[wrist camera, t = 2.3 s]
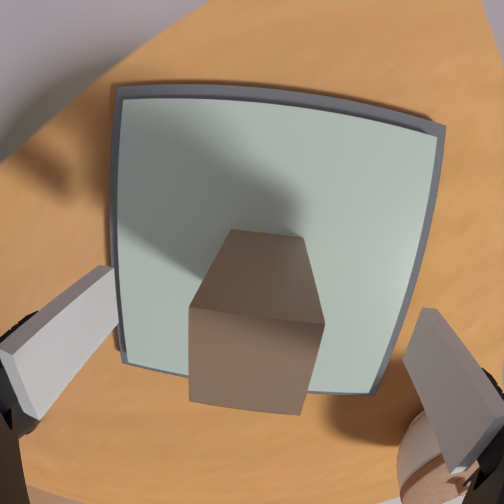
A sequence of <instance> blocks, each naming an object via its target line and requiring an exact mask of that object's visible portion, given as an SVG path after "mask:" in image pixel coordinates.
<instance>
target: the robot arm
mask: <svg viewBox="0 0 504 504" xmlns="http://www.w3.org/2000/svg"><path fill="white" fill-rule="evenodd" d="M118 323H119V320H118V311H117V301H116V289H115V276H114V268H113V267H107V266H102V265H99V266H97V267H96V268H94V269H93V270H92V271H90V272H89V273H88V274H86V275H85V276H84V277H82V278H81V279H80V280H78V281H77V282H76V283H74V284H73V285H72V286H70V287H69V288H68V289H66V290H65V291H64V292H63V293H61V294H60V295H59V296H57V297H56V298H55V299H54V300H52V301H51V302H50V303H48V304H47V305H46V306H45V307H43V308H42V309H41V310H40V311H36V312H34V313H31V314H29V315H27V316H25V317H24V318H23V319H22V320H20V321H19V322H18V324H16V325H14V326H13V327H12V328H11V330H8V331H7V332H6V333H5V334H3V335H2V336H1V337H0V504H30V502H29V498H28V493H27V489H26V484H25V479H24V473H23V468H22V462H21V455H20V448H19V440H18V439H19V438H21V437H22V436H24V435H26V434H29V433H31V432H33V431H34V430H35V428H36V427H37V426H38V424H39V423H40V421H41V420H42V418H43V416H44V415H45V413H46V412H47V411H48V410H49V408H50V407H51V406H52V404H53V403H54V402H55V400H56V399H57V398H58V397H59V395H60V394H61V393H62V391H63V390H64V389H65V388H66V386H67V385H68V384H69V383H70V381H71V380H72V379H73V378H74V376H75V375H76V374H77V373H78V371H79V370H80V369H81V368H82V366H83V365H84V364H85V363H86V361H87V360H88V359H89V358H90V357H91V355H92V354H93V353H94V352H95V350H96V349H97V348H98V347H99V346H100V344H101V343H102V342H103V341H104V340H105V338H106V337H107V336H108V335H109V334H110V332H111V331H112V330H113V329H114V328H115V327H116V325H117V324H118ZM402 360H403V362H404V365H405V367H406V369H407V371H408V373H409V376H410V378H411V380H412V382H413V384H414V387H415V389H416V391H417V393H418V396H419V398H420V400H421V403H422V405H423V407H424V410H425V412H426V415H427V417H428V419H429V422H430V424H431V427H432V429H433V432H434V434H435V437H436V439H437V442H438V445H439V447H440V450H441V452H442V455H443V458H444V460H445V463H446V466H447V469H448V472H449V474H450V475H451V474H455V473H460V472H464V471H467V470H468V469H469V468H470V467H471V465H472V464H473V463H474V462H475V461H476V460H477V462H478V464H479V467H478V468H477V469H476V471H475V472H474V473H473V474H472V475H471V476H470V477H469V478H468V479H467V480H466V481H465V482H464V484H463V485H462V486H463V487H465V486H466V485H467V484H468V483H469V482H470V485H469V487H468V490H467V493H466V495H465V498H464V500H463V502H462V504H504V393H502V392H503V391H502V390H501V388H500V387H499V386H498V384H497V382H496V381H495V379H494V378H493V377H492V375H491V374H489V373H488V372H487V371H486V370H485V369H483V368H481V367H480V366H479V364H478V363H477V361H476V360H475V359H474V357H473V356H472V355H471V353H470V352H469V350H468V349H467V348H466V346H465V345H464V344H463V342H462V341H461V340H460V338H459V337H458V336H457V334H456V333H455V332H454V331H453V329H452V328H451V327H450V325H449V324H448V323H447V322H446V320H445V319H444V318H443V316H442V315H441V314H440V313H439V311H438V310H437V309H433V308H422V309H421V312H420V315H419V318H418V320H417V323H416V326H415V329H414V331H413V334H412V337H411V339H410V342H409V344H408V347H407V349H406V352H405V354H404V357H403V359H402Z"/></svg>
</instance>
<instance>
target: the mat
mask: <svg viewBox="0 0 504 504" xmlns="http://www.w3.org/2000/svg"><path fill="white" fill-rule="evenodd" d="M129 99H213V100H231V101H245V102H256V103H267V104H276V105H285V106H293V107H300V108H307V109H314V110H320V111H326V112H332V113H338V114H343V115H348V116H354V117H359V118H363V119H368V120H373V121H377V122H382V123H386V124H390V125H394V126H398V127H402V128H406V129H410V130H414V131H417V132H421V133H424V134H428V135H431V136H435V137H437V144H436V152H435V160H434V167H433V173H432V180H431V186H430V192H429V197H428V203H427V208H426V213H425V218H424V223H423V227H422V232H421V236H420V240H419V245H418V249H417V253H416V257H415V261H414V264H413V268H412V272H411V275H410V279H409V283H408V286H407V289H406V293H405V296H404V299H403V303H402V306H401V309H400V312H399V315H398V318H397V321H396V324H395V327H394V330H393V333H392V336H391V338H390V341H389V344H388V347H387V349H386V352H385V355H384V357H383V360H382V362H381V365H380V367H379V370H378V372H377V375H376V377H375V380H374V382H373V384H372V387H371V389H370V391H369V393H343V392H322V391H307V393H314V394H333V395H375V393H376V391H377V388H378V386H379V384H380V382H381V379H382V377H383V374H384V372H385V370H386V367H387V365H388V362H389V360H390V357H391V355H392V352H393V350H394V347H395V344H396V342H397V339H398V336H399V333H400V331H401V328H402V325H403V322H404V319H405V316H406V313H407V310H408V307H409V304H410V301H411V298H412V295H413V291H414V288H415V285H416V281H417V278H418V274H419V271H420V267H421V263H422V260H423V256H424V252H425V248H426V244H427V240H428V235H429V231H430V227H431V222H432V217H433V212H434V207H435V202H436V197H437V191H438V185H439V179H440V173H441V166H442V159H443V151H444V143H445V134H446V126H445V125H442V124H439V123H436V122H433V121H430V120H426V119H423V118H420V117H416V116H413V115H409V114H405V113H402V112H398V111H394V110H390V109H386V108H382V107H377V106H373V105H369V104H364V103H359V102H355V101H350V100H344V99H339V98H334V97H328V96H322V95H316V94H309V93H302V92H295V91H287V90H278V89H269V88H259V87H247V86H232V85H210V84H154V85H132V86H118V87H117V90H116V99H115V108H114V119H113V130H112V145H111V163H110V248H111V267H113V268H114V276H115V289H116V301H117V311H118V320H119V323H118V324H117V331H118V339H119V346H120V353H121V359H122V363H123V364H127V365H131V366H136V367H140V368H144V369H148V370H153V371H157V372H162V373H167V374H171V375H176V376H182V377H187V378H189V375H184V374H179V373H174V372H169V371H164V370H159V369H155V368H150V367H146V366H142V365H137V364H133V363H129V362H128V358H127V350H126V343H125V335H124V326H123V316H122V306H121V294H120V280H119V262H118V233H117V189H118V161H119V143H120V130H121V118H122V108H123V100H129Z"/></svg>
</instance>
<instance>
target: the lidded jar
mask: <svg viewBox="0 0 504 504" xmlns="http://www.w3.org/2000/svg"><path fill="white" fill-rule="evenodd" d="M396 467H397V479H398V484H399V488H400V498H401V502H402V504H441V503H444V502H447V501H449V500H452V499H454V498H456V497H458V496H462V495H464V494H466V493H467V490H468V487H469V485H470V482H469V483H468V484H467V485H466V486H465V487H463V486H462V485H463V484H464V482H465V481H466V480H467V479H468V478H469V477H470V476H471V475H472V474H473V473H474V472H475V471H476V469H477V468H478V467H479V464H478V462H477V460H476V461H475V462H474V463H473V464H472V465H471V467H470V468H469V469H468V470H467V471H464V472H460V473H455V474H451V475H450V474H449V472H448V469H447V466H446V463H445V460H444V458H443V455H442V452H441V450H440V447H439V445H438V442H437V439H436V437H435V434H434V432H433V429H432V427H431V424H430V422H429V419H428V417H427V415H426V412H425V410H423V411H422V412H421V413H420V414H418V415H417V416H416V417H415V418H414V419H413V421H412V422H411V423H410V425H409V427H408V430H407V432H406V434H405V435H404V437H403V439H402V441H401V443H400V446H399V449H398V454H397V463H396Z"/></svg>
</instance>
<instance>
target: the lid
mask: <svg viewBox="0 0 504 504" xmlns="http://www.w3.org/2000/svg"><path fill="white" fill-rule="evenodd" d="M436 144H437V137H435V136H431V135H428V134H424V133H421V132H417V131H414V130H410V129H406V128H402V127H398V126H394V125H390V124H386V123H382V122H377V121H373V120H368V119H363V118H359V117H354V116H348V115H343V114H338V113H332V112H326V111H320V110H314V109H307V108H300V107H293V106H285V105H276V104H267V103H256V102H245V101H231V100H213V99H129V100H123V108H122V118H121V130H120V143H119V161H118V189H117V233H118V262H119V280H120V294H121V306H122V316H123V326H124V335H125V343H126V350H127V358H128V362H129V363H133V364H137V365H142V366H146V367H150V368H155V369H159V370H164V371H169V372H174V373H179V374H184V375H189V401H191V402H196V403H202V404H207V405H213V406H220V407H226V408H233V409H240V410H248V411H256V412H265V413H275V414H287V415H300V413H301V410H302V407H303V404H304V400H305V397H306V394H307V391H322V392H343V393H369V391H370V389H371V387H372V384H373V382H374V380H375V377H376V375H377V372H378V370H379V367H380V365H381V362H382V360H383V357H384V355H385V352H386V349H387V347H388V344H389V341H390V338H391V336H392V333H393V330H394V327H395V324H396V321H397V318H398V315H399V312H400V309H401V306H402V303H403V299H404V296H405V293H406V289H407V286H408V283H409V279H410V275H411V272H412V268H413V264H414V261H415V257H416V253H417V249H418V245H419V240H420V236H421V232H422V227H423V223H424V218H425V213H426V208H427V203H428V197H429V192H430V186H431V180H432V173H433V167H434V160H435V152H436Z"/></svg>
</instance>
